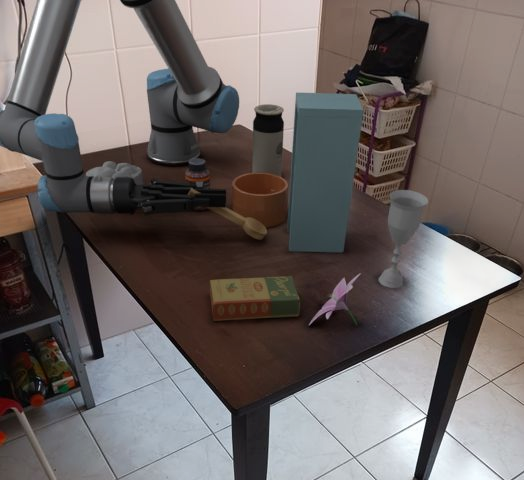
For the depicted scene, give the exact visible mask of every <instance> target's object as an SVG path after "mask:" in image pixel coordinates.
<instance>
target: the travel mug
mask: <svg viewBox="0 0 524 480" xmlns="http://www.w3.org/2000/svg"><path fill="white" fill-rule="evenodd" d="M284 111H285V109H284V107H282V106H281V105H277V104H272V103H271V104H270V103H269V104H268V103H267V104H259V105H257V106H255V107H254V112H255V117H254V118H253V121H252V167H251V168H252V172H251V173H269V174H274V175H277V176H280V177H282V170H283V169H282V168H283V152H284V151H283V150H284V131H285V130H284V129H285V121H284V119H283V113H284Z"/></svg>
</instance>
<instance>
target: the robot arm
mask: <svg viewBox="0 0 524 480" xmlns="http://www.w3.org/2000/svg"><path fill="white" fill-rule="evenodd" d="M82 1H83V0H36V3H35V7H34V10H33V13H32V16H31V20H30V23H29V27H28V30H27V33H26V35H25V36H26V37H25V40H24V44H23V47H22V50H21V54H20V56H19V60H18V62H17V67H16V70H15V74H14V77H13V80H12V83H11V87H10V90H9V94H8V96H7V99H6V104H5V108H4V109H1V110H0V147H2V148H4V149H7V150H8V151H10V152H13V153H14V152H15V153H18V154H21V155H24V156H27V157H30V158H32V159H36V160H38V161H40V162H42V163H43V168H44V171H45V174H43V175H41V176H40V177H39V179H38V182H37V192H38V193H37V195H38V196H37V197H38V200H39V204H40V205H41V207H42V209H44V210H46V211H48V212H58V213H64V214H69V213H90V214H91V213H92V214H94V213H95V214H111V215H113V214H115V213H117V214H118V215H119V214H121V215H122V214H123V215H133V214H135V212H136V210H137V209H138V210H142V215H143V216H148V215H149V216H150V215H155V214H174V213H177V214H178V213H190V212H196V210H195V207H225V208H226V207H227V189H226V188H210V189H196V184H192V183H186V182H179V181H169V180H161V179H156V178H151V179H150V183H144V184H141V185H136V184H135V181H134V179H133V178H131V177H116V178H115V180H114V179H113V178H112V177H101V176H100V175H97V177H94V176H86V174H85V171H84V166H83V165H84V164H83V161H82V159H83V158H82V153H81V148H80V147H81V146H80V143H79V140H80V139H79V135H78V133H77V129H76V125H75V121H74V120H73V118H72V117H71V116H69V115H67V114H64V113H47V111H48V108H49V104H50V101H51V98H52V95H53V92H54V89H55V86H56V83H57V79H58V76H59V73H60V70H61V66H62V63H63V60H64V56H65V53H66V50H67V47H68V44H69V41H70V37H71V35H72V31H73V27H74V24H75V21H76V19H77V16H78V12H79V9H80V6H81V3H82ZM119 1H120V3H121V4H122V5H123V6H124V7H126V8H129V9H133V10H134V11H135V14H136V15H137V17H138V19H139V20H140V21H139V22H141V24H142V25H143V28H144V29H145V31H146V33H147V34H148V35H149V38H150V39H151V41H152V43H153V44H154V47H155V48H156V50H157V51H158V53H159V55H160V56H161V58H162V60H163V62H164V64H165V66H166V67H167V68H162V69H157V70H154V71H151V72H150V73H148V75H147V76H146V95H147V96H146V97H147V104H148V113H149V120H150V134H149V140H148V145H147V151H146V153H147V159H148V160H149V162H151V163H153V164H156V165H159V166H164V167H181V166H187V165H189V160H191V159H201V148H200V142H198V140H197V137H196V134H195V131H194V128H197V129H200V130H204V131H207V132H210V133H211V134H225V133H227V132H229V130H231V129H232V127H234V124H235V122H236V120H237V118H238V114H239V109H240V95H239V92H238V90H237V89H236V88H235V87H233V86H232V85H226V84H225V83H224V81H223V80H222V78H221V76H220V74H219V73H218V70H216V69H215V68H213V67H211V66H209V65H208V63H207V62H206V59H205V57H204V56H203V53H202V52H201V49H200V48H199V45H198V43H197V41H196V39H195V37H194V35H193V34H192V31H191V29H190V28H189V25H188V23H187V22H186V20H185V17H184V15H183V13H182V11H181V9H180V7H179V5H178V3H177V1H176V0H119ZM191 188H193V189H194V190H196V191H198V192H200V193H195V197H194V196H193V195H188V193H189V191H190V189H191ZM194 206H195V207H194Z"/></svg>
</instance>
